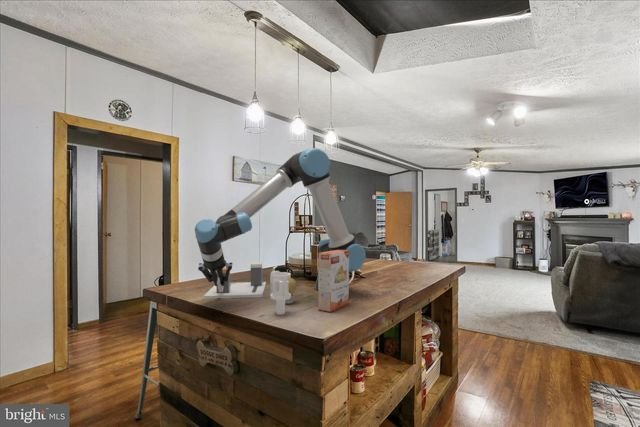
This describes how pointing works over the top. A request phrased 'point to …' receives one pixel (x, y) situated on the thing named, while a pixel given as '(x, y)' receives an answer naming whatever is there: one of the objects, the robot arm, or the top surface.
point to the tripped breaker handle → (227, 284)
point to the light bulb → (291, 289)
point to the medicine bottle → (277, 268)
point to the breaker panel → (237, 291)
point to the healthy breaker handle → (256, 274)
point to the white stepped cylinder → (280, 290)
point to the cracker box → (333, 280)
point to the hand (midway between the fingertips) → (221, 289)
